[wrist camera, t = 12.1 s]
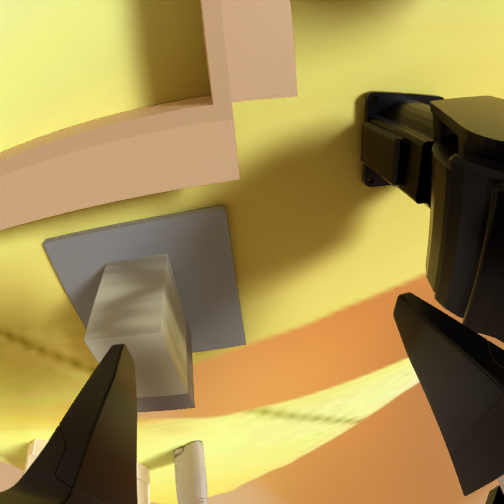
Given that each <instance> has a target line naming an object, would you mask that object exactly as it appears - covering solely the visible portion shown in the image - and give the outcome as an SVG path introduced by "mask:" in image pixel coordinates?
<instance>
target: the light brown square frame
mask: <svg viewBox="0 0 504 504" xmlns="http://www.w3.org/2000/svg"><path fill="white" fill-rule="evenodd" d="M199 1H200V10H201V19H202V28H203V37H204V46H205V55H206V63H207V72H208V80H209V88H210V95H209V96H202V97H196V98H190V99H184V100H178V101H173V102H167V103H162V104H157V105H152V106H148V107H143V108H139V109H134V110H130V111H126V112H122V113H118V114H114V115H110V116H106V117H102V118H99V119H95V120H92V121H88V122H85V123H81V124H78V125H75V126H72V127H69V128H65V129H62V130H59V131H56V132H53V133H50V134H48V135H45V136H42V137H39V138H36V139H34V140H31V141H28V142H26V143H23V144H20V145H18V146H15V147H13V148H11V149H8V150H6V151H3V152H1V153H0V230H3V229H6V228H10V227H13V226H17V225H20V224H24V223H28V222H31V221H35V220H39V219H43V218H47V217H51V216H55V215H59V214H63V213H67V212H71V211H75V210H79V209H84V208H88V207H92V206H97V205H101V204H106V203H110V202H115V201H120V200H125V199H130V198H135V197H140V196H145V195H150V194H155V193H160V192H166V191H171V190H177V189H183V188H189V187H194V186H200V185H207V184H213V183H219V182H226V181H233V180H240V175H239V166H238V157H237V148H236V139H235V130H234V121H233V111H232V102H237V101H246V100H256V99H267V98H280V97H296V96H297V81H296V65H295V51H294V38H293V26H292V15H291V4H290V0H199Z"/></svg>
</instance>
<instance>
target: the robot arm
mask: <svg viewBox="0 0 504 504" xmlns="http://www.w3.org/2000/svg"><path fill="white" fill-rule="evenodd" d="M372 96H375V101H374V102H372V101H371V98H372ZM361 161H362V162H363V171H362V181H363V183H364V184H365V185H366V186H368V187H376V186H386V185H392V186H394V187H395V186H397V187H398V188H399V189H400V190H402V191H403V192H404V193H405V194H407V195H408V196H409V197H410V198H411V199H413V200H414V201H415V202H416V203H418V204H421V203H424V204H425V205H426V206H427V207H429V208H430V209H431V210H430V226H429V238H428V249H427V258H426V274H427V279H428V281H429V283H430V285H431V287H432V289H433V291H434V292H435V299H436V300H437V301H438V302H439V303H440V304H441V305H442V306H443V307H444V308H445V309H447V310H449V311H450V312H452V313H453V314H455V315H457V316H459V317H461V318H464V319H463V322H462V324H461V323H460V322H458V321H457V320H455V319H453V318H452V317H450V316H448V315H447V314H445V313H443V312H442V311H440V310H439V309H437V308H435V307H434V306H432V305H430V304H428V303H427V302H425V301H424V300H422V299H420V298H419V297H417V296H415V295H414V294H412V293H409V292H408V293H404V294H400V295H399V296H398V298H397V302H396V305H395V308H394V319H395V322H396V324H397V327H398V330H399V333H400V335H401V338H402V341H403V344H404V347H405V349H406V352H407V355H408V357H409V359H410V361H411V364H412V366H413V368H414V370H415V372H416V374H417V377H418V379H419V381H420V383H421V385H422V388H423V390H424V392H425V394H426V397H427V399H428V401H429V404H430V406H431V408H432V411H433V413H434V416H435V418H436V420H437V423H438V425H439V428H440V430H441V433H442V435H443V438H444V441H445V443H446V446H447V448H448V451H449V454H450V456H451V459H452V462H453V465H454V468H455V470H456V473H457V476H458V479H459V482H460V485H461V488H462V491H463V494H464V496H467V495H469V494H471V493H473V492H474V491H476V490H478V489H480V488H481V487H484V486H485V485H487V484H489V483H490V482H492V481H494V480H495V479H497V480H498V482H499V485H498V486H496V487H495V488H494V489H492V490H491V491H490V492H489V495H488V498H487V501H486V504H504V350H503V349H501V348H499V347H498V346H496V345H495V344H493V343H492V342H490V341H487V339H485V338H484V337H482V336H480V335H479V334H477V333H481V334H485V335H488V336H491V337H494V338H497V339H498V340H500V341H502V342H504V99H500V98H496V97H492V96H476V97H464V98H453V99H444V98H443V97H440V96H435V95H425V94H415V93H401V92H384V91H369V92H368V93H366V95H365V116H364V123H363V124H362V146H361ZM369 177H372V178H371V180H370V181H368V179H369ZM59 425H60V426H58V427H57V428H56V430H55V432H54V433H53V435H52V436H51V438H50V439H49V441H48V442H47V444H46V445H45V447H44V448H43V450H42V451H41V452H40V454H39V455H38V456H37V458H36V459H35V460H34V462H33V463H32V464H31V466H30V467H29V468H28V470H27V471H26V472H25V474H24V475H23V476H22V478H21V479H20V480H19V481H18V482H17V483H16V484H15V485H14V486H13V487H11V488H9V489H8V490H5V491H3V492H0V504H138V499H137V392H136V376H135V362H134V359H133V357H132V355H131V354H130V352H129V350H128V348H127V347H126V345H125V344H114V345H112V346H111V347H110V349H109V350H108V351H107V353H106V354H105V356H104V357H103V359H102V360H101V362H100V363H99V365H98V366H97V367H96V369H95V370H94V372H93V373H92V375H91V376H90V378H89V379H88V381H87V382H86V384H85V385H84V387H83V388H82V390H81V391H80V393H79V394H78V396H77V397H76V399H75V400H74V402H73V403H72V405H71V407H70V408H69V410H68V411H67V413H66V414H65V416H64V417H63V419H62V421H61V422H60V424H59Z"/></svg>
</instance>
